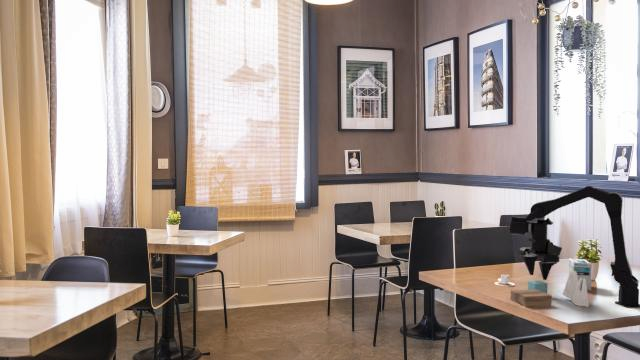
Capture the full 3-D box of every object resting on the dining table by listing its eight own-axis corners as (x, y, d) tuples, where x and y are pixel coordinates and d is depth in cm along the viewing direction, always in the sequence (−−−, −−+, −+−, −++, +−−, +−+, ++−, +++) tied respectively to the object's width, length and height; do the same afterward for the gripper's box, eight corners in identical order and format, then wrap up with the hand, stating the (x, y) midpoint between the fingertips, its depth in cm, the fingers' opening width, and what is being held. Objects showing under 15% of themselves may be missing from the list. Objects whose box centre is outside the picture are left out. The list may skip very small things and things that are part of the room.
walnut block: (551, 306, 215) (551, 295, 215) (525, 308, 213) (525, 296, 213) (535, 300, 225) (536, 289, 225) (510, 301, 223) (510, 290, 223)
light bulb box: (591, 290, 240) (592, 263, 240) (573, 290, 241) (573, 262, 241) (585, 285, 251) (586, 258, 250) (567, 284, 252) (568, 258, 251)
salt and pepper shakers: (562, 298, 226) (562, 268, 226) (573, 298, 227) (573, 268, 226) (577, 306, 214) (578, 275, 214) (589, 306, 215) (590, 275, 214)
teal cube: (547, 296, 230) (547, 283, 230) (534, 297, 229) (535, 283, 229) (539, 293, 235) (540, 280, 234) (527, 294, 234) (528, 281, 234)
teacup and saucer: (497, 281, 257) (498, 272, 257) (517, 284, 253) (517, 274, 253) (492, 285, 250) (492, 275, 250) (512, 288, 246) (512, 277, 246)
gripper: (573, 239, 223) (572, 281, 224) (545, 232, 241) (544, 272, 242) (545, 239, 221) (544, 282, 222) (518, 233, 239) (518, 273, 240)
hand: (538, 277), depth 231 cm, fingers open, 9 cm apart
